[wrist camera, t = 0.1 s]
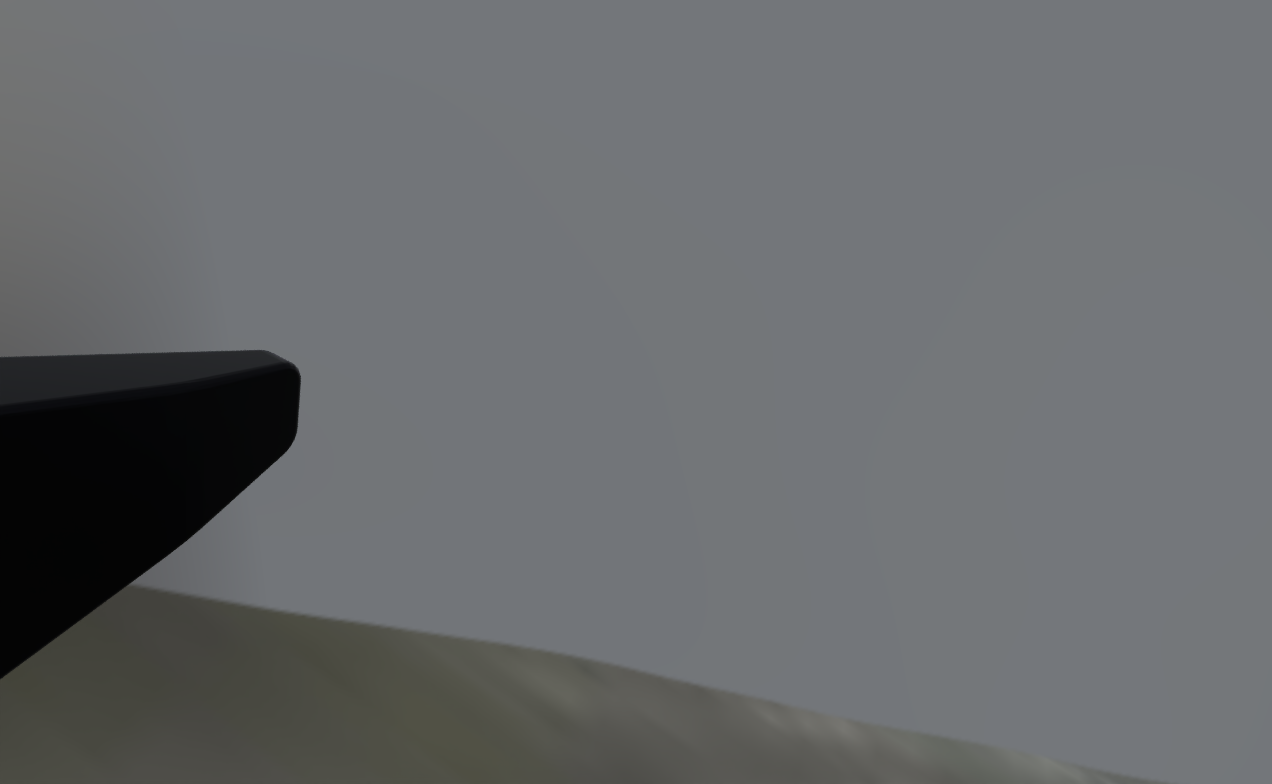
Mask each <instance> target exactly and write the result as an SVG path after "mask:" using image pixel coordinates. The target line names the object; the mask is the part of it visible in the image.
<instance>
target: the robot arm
mask: <svg viewBox="0 0 1272 784" xmlns="http://www.w3.org/2000/svg"><path fill="white" fill-rule="evenodd" d="M300 385H301V376H300V373H299V370H298V368H297V367H296V366H295V365H294V364H293V363H291V362H289V361H287V360H285V359H283V358H281V357H279V356H278V355H276V354H274V353H271V352H269V351H265V350H247V351H246V350H245V351H208V352H171V353H170V352H169V353H134V354H133V353H132V354H95V355H58V356H22V357H0V679H1V678H3V677H4V676H5V675H7V674H8V673H10V672H11V671H12V670H14V669H15V668H16V667H18V666H19V665H20V664H22V663H23V662H24V661H26V660H27V659H28V658H30V657H31V656H33V655H34V654H35V653H37V652H38V651H39V650H41V649H42V648H43V647H45V646H46V645H47V644H49V643H50V642H51V641H53V640H54V639H56V638H57V637H58V636H60V635H61V634H62V633H64V632H65V631H66V630H68V629H69V628H70V627H72V626H73V625H74V624H76V623H77V622H79V621H80V620H81V619H83V618H84V617H85V616H87V615H88V614H89V613H91V612H92V611H93V610H95V609H96V608H97V607H99V606H100V605H102V604H103V603H104V602H106V601H107V600H108V599H110V598H111V597H112V596H114V595H115V594H116V593H118V592H119V591H121V590H122V589H123V588H125V587H126V586H127V585H129V584H130V583H131V582H133V581H134V580H135V579H137V578H138V577H139V576H141V575H142V574H143V573H145V572H146V571H148V570H149V569H150V568H152V567H153V566H154V565H155V564H157V563H158V562H160V561H161V560H162V559H164V558H165V557H166V556H168V555H169V554H170V553H171V552H173V551H174V550H176V549H177V548H178V547H179V546H180V545H182V544H183V543H184V542H186V541H187V540H188V539H189V538H190V537H192V536H193V535H194V534H195V533H196V532H198V531H199V530H200V529H201V528H202V527H203V526H204V525H206V523H208V522H209V521H210V520H211V519H212V518H213V517H214V516H216V515H217V514H218V513H219V512H220V511H221V510H222V509H223V508H224V507H226V506H227V505H228V504H229V503H230V502H231V501H232V500H233V499H235V498H236V497H237V496H238V495H239V494H240V493H241V492H242V491H243V490H245V489H246V488H247V487H248V486H249V485H250V484H251V483H252V482H253V481H255V479H257V478H258V477H259V476H260V475H261V474H262V473H263V472H264V471H266V470H267V469H268V468H269V467H270V466H271V465H272V464H273V463H274V462H276V461H277V460H278V459H279V458H280V457H281V456H282V455H283V454H284V453H285V452H286V451H287V450H288V449H289V448H290V446H291V445H292V443H293V441H294V439H295V436H296V433H297V427H298V412H299V400H300Z"/></svg>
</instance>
